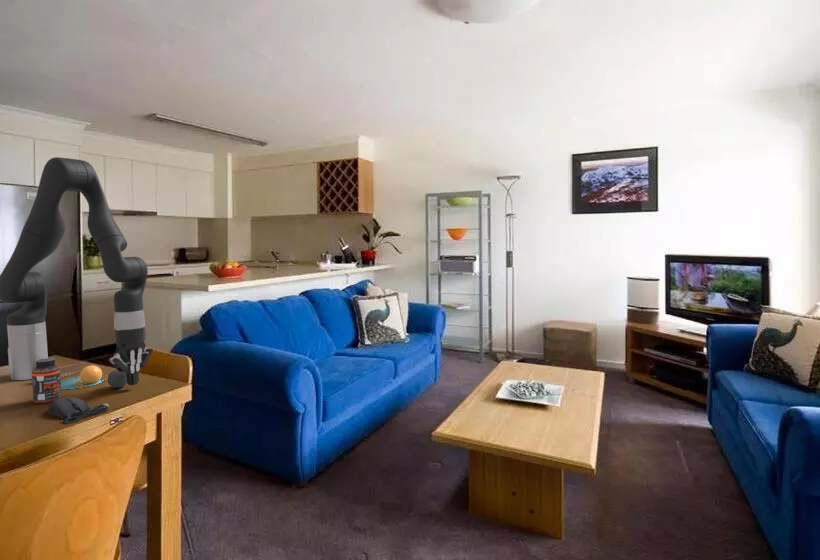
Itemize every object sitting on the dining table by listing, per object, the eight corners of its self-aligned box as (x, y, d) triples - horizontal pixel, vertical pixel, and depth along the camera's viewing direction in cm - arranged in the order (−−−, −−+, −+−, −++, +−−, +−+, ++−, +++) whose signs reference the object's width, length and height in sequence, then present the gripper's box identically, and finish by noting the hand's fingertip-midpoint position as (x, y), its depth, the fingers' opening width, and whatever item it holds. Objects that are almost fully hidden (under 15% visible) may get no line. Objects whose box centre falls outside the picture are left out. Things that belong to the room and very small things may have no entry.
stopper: (36, 383, 135) (36, 373, 134) (76, 372, 146) (76, 363, 146) (40, 383, 134) (39, 373, 134) (80, 372, 146) (79, 363, 145)
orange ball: (91, 382, 131) (79, 389, 132) (109, 377, 136) (97, 383, 138) (84, 365, 131) (72, 372, 133) (102, 360, 136) (90, 367, 138)
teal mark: (40, 386, 131) (40, 386, 131) (87, 373, 145) (87, 372, 145) (74, 391, 127) (74, 391, 127) (119, 377, 140) (119, 377, 140)
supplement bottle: (45, 405, 117) (42, 363, 116) (27, 403, 118) (24, 361, 117) (67, 397, 123) (64, 357, 122) (49, 395, 124) (47, 356, 123)
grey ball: (118, 376, 127) (114, 393, 128) (135, 370, 132) (132, 387, 133) (104, 368, 129) (101, 385, 129) (121, 364, 134) (118, 380, 135)
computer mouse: (78, 402, 120) (78, 389, 120) (112, 412, 114) (111, 397, 114) (34, 416, 111) (33, 401, 111) (68, 426, 105) (67, 411, 104)
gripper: (140, 321, 135) (143, 376, 137) (98, 329, 123) (101, 390, 124) (159, 322, 133) (161, 379, 134) (118, 331, 120) (121, 393, 122)
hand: (132, 384), depth 129 cm, fingers closed
